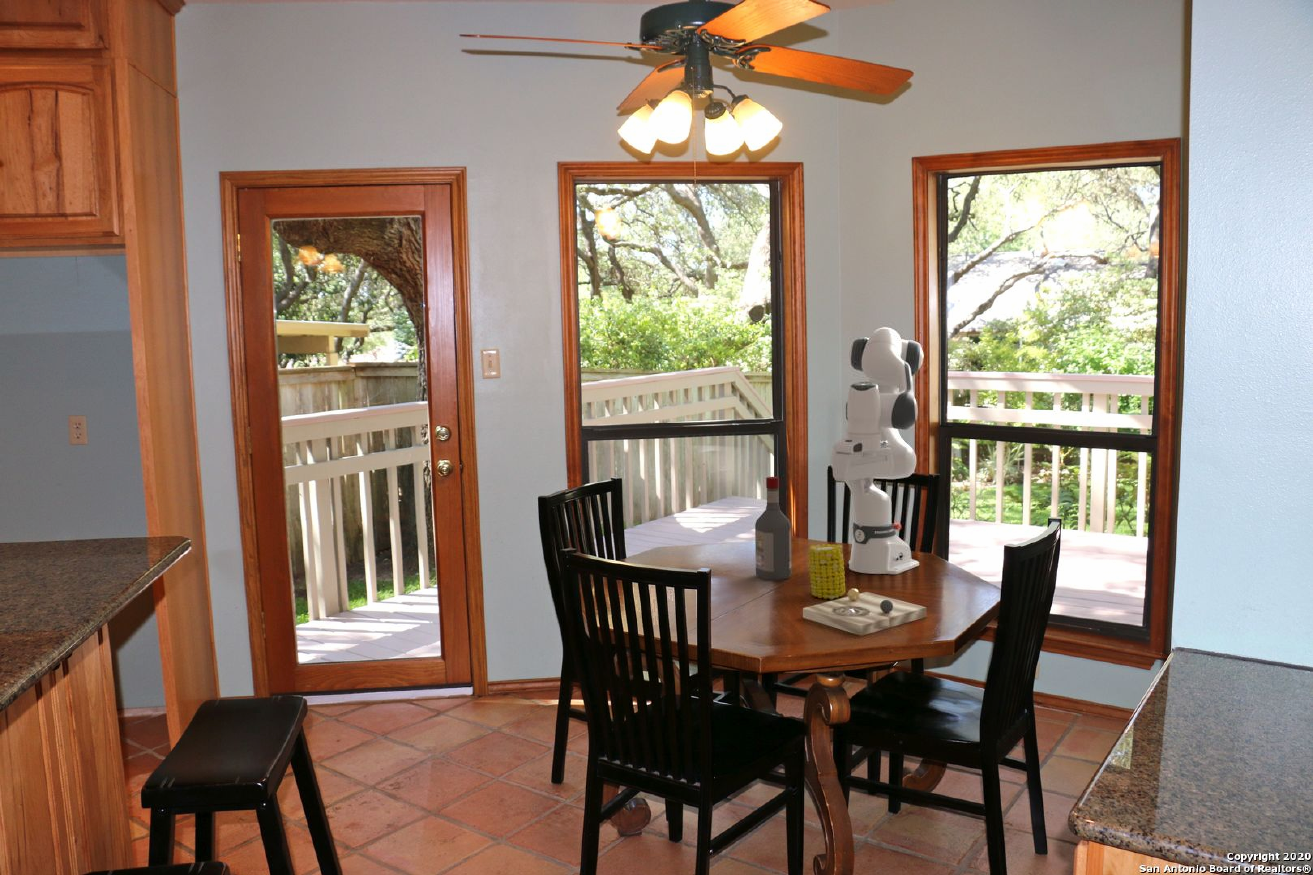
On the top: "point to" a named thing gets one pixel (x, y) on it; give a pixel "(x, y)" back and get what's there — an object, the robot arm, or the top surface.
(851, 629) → the board
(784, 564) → the liquor
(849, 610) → the steel ball
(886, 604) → the dark grey ball
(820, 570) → the food
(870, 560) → the robot arm
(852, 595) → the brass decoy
